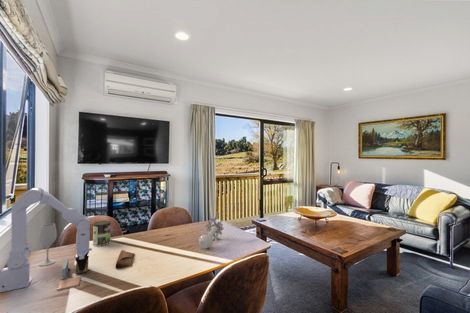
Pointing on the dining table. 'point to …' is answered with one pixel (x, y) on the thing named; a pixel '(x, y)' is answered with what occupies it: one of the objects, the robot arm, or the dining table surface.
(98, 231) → the coffee can
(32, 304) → the dining table surface
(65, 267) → the grey block with tabs
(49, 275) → the dining table surface
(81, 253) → the robot arm
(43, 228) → the wineglass
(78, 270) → the brown cube
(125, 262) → the sunglasses case
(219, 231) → the flower vase
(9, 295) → the dining table surface
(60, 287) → the coaster
